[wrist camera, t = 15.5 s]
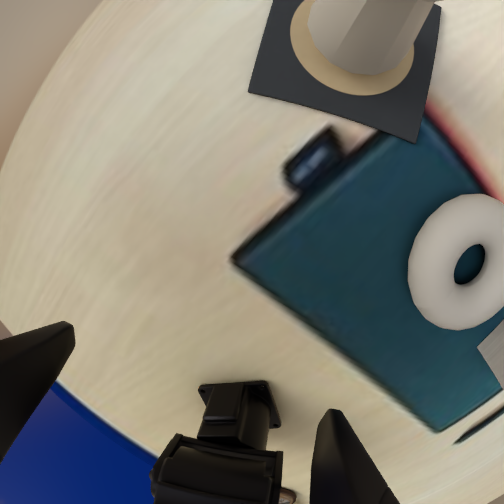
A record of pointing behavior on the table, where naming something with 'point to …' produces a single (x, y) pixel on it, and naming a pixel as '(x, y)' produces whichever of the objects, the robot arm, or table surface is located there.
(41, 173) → the table surface
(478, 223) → the donut
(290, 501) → the compass
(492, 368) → the white paper bag
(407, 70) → the coaster
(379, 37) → the salt shaker
